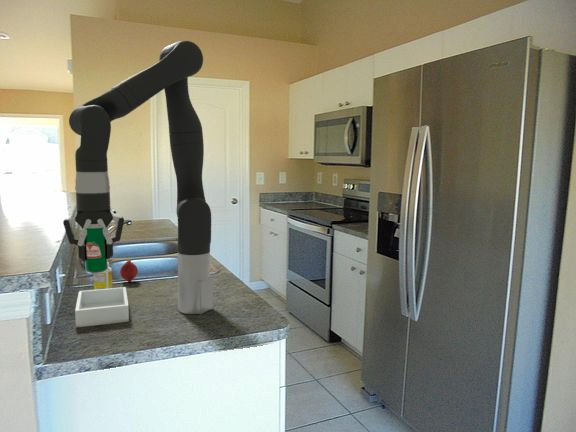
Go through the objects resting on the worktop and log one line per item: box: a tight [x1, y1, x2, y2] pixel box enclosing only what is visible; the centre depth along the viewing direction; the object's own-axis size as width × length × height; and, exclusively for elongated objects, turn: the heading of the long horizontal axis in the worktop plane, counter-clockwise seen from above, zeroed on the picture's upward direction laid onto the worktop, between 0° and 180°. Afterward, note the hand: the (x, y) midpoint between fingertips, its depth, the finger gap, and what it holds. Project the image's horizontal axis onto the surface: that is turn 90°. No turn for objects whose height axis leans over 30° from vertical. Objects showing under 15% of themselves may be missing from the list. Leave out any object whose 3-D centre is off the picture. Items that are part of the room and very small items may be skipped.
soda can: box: [84, 223, 109, 274], centre depth 110 cm, size 5×5×12 cm
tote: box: [74, 286, 130, 328], centre depth 127 cm, size 13×18×4 cm
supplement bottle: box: [92, 261, 114, 290], centre depth 144 cm, size 6×6×10 cm
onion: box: [119, 259, 138, 282], centre depth 158 cm, size 6×6×8 cm
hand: (96, 259), depth 110 cm, fingers closed on soda can, 5 cm apart
